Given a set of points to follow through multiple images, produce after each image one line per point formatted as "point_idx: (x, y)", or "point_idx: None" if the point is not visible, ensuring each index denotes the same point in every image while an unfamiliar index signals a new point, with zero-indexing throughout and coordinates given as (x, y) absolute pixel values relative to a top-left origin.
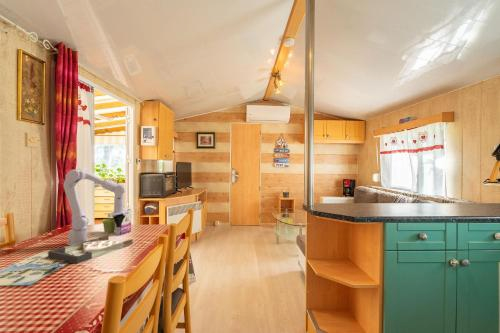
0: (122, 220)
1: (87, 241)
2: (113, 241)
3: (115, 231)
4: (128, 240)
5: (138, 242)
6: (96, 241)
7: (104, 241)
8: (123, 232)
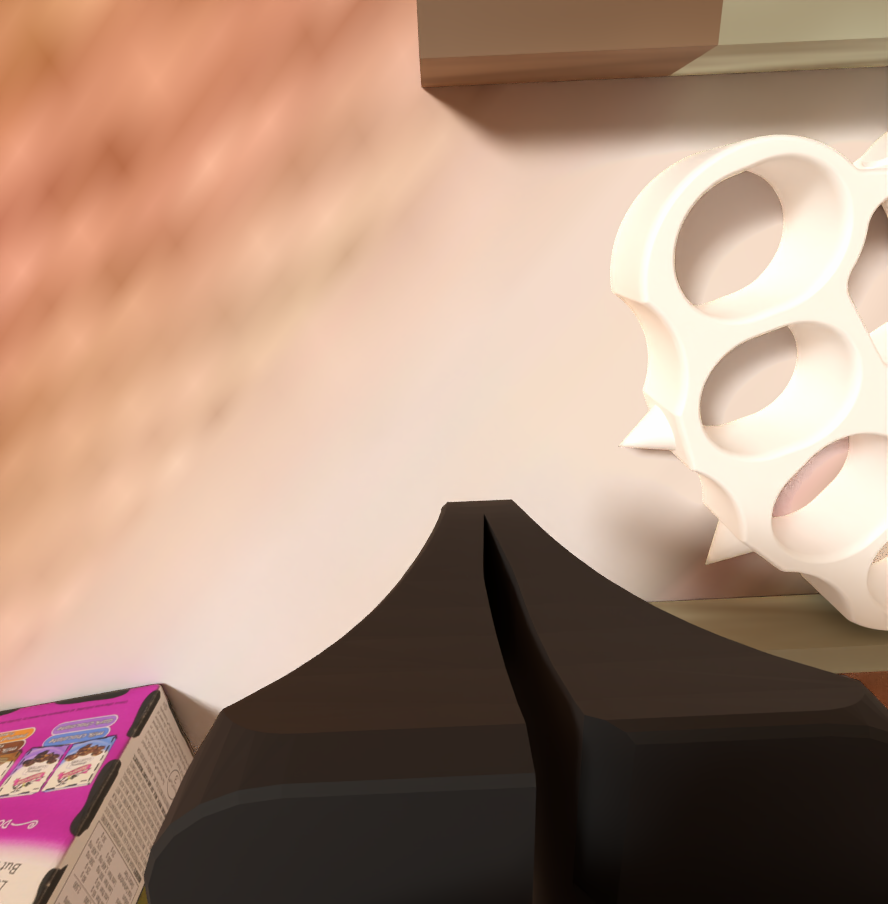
0: (413, 604)
1: (855, 645)
2: (693, 307)
3: (173, 798)
4: (535, 22)
5: (245, 46)
6: (796, 553)
7: (742, 455)
8: (79, 715)
